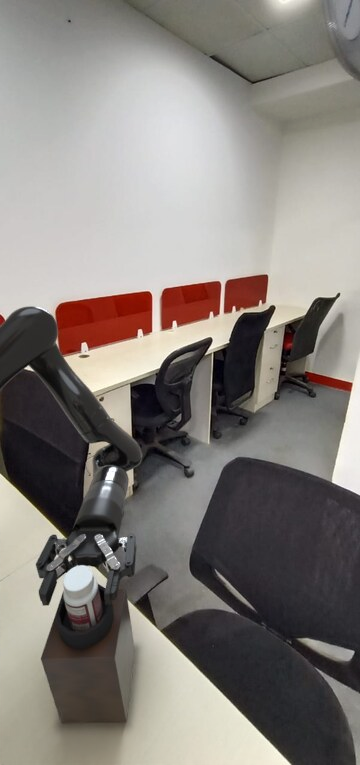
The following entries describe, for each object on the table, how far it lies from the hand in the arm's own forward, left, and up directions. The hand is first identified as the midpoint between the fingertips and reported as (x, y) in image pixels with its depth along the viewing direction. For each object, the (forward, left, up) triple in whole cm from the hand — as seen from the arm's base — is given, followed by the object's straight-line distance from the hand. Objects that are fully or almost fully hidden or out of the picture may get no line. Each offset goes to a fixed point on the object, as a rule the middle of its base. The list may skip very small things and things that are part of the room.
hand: (75, 601), depth 48 cm
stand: (0, +2, -23) cm, 23 cm away
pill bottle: (0, +2, -7) cm, 7 cm away
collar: (0, +2, -7) cm, 7 cm away
